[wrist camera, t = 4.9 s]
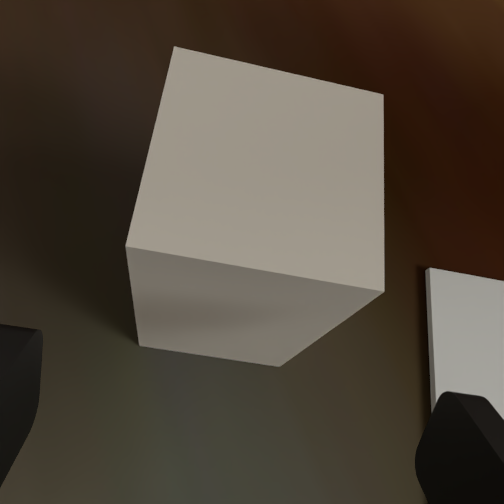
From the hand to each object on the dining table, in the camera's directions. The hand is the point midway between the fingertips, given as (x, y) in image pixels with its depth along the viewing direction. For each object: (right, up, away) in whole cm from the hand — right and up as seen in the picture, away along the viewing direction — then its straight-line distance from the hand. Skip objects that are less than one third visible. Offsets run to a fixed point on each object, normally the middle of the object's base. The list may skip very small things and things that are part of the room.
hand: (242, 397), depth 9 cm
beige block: (-1, +1, +11) cm, 11 cm away
